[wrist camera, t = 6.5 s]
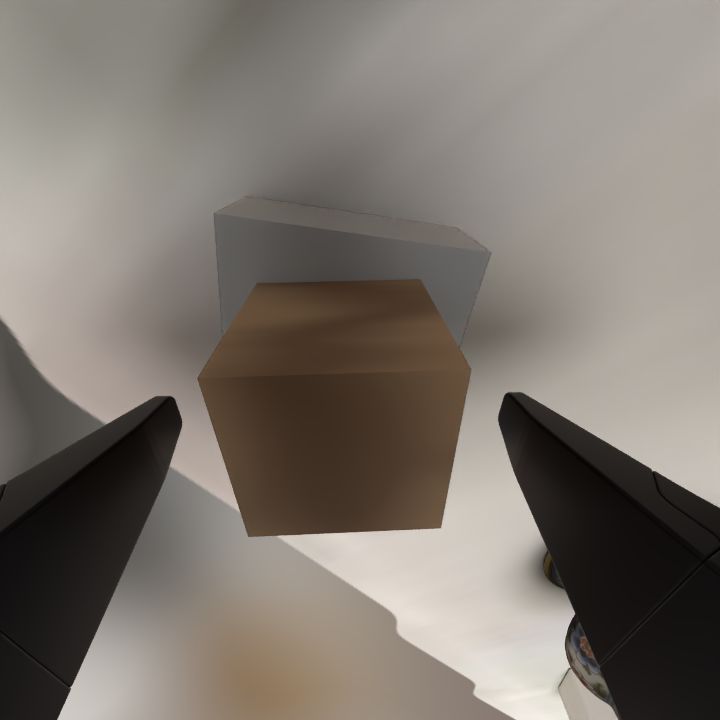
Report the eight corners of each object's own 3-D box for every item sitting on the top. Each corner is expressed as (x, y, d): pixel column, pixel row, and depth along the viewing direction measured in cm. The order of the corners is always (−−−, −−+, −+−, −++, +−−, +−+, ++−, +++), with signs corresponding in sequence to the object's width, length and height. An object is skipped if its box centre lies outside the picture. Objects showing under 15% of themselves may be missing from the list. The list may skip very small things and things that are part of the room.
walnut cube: (420, 279, 11) (470, 369, 6) (409, 405, 13) (441, 528, 9) (256, 283, 10) (197, 378, 6) (279, 410, 13) (248, 536, 9)
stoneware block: (454, 225, 14) (491, 252, 10) (410, 387, 18) (426, 444, 14) (248, 195, 13) (213, 213, 9) (252, 372, 17) (229, 429, 14)
